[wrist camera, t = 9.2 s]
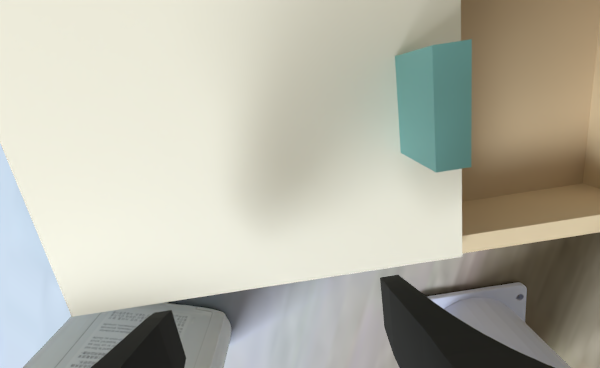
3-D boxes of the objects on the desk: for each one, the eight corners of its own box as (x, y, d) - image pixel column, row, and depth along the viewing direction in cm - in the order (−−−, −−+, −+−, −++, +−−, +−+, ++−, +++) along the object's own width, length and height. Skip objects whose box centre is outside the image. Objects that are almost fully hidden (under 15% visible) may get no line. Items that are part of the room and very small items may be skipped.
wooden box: (585, 191, 22) (670, 221, 17) (287, 237, 22) (288, 280, 17) (616, -95, 17) (744, -166, 12) (239, -38, 17) (222, -86, 12)
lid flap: (456, 250, 17) (509, 301, 13) (79, 308, 16) (15, 377, 13) (451, -113, 12) (530, -208, 8) (-59, -35, 12) (-223, -93, 8)
